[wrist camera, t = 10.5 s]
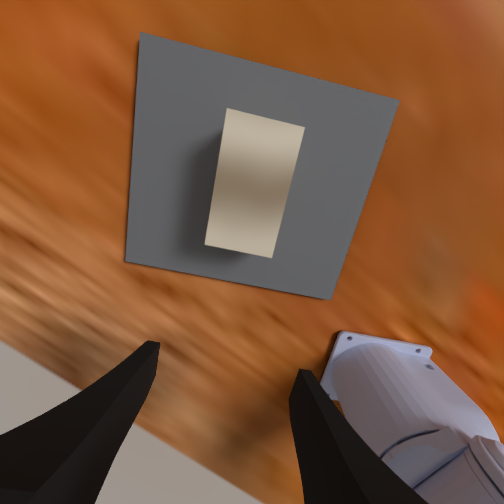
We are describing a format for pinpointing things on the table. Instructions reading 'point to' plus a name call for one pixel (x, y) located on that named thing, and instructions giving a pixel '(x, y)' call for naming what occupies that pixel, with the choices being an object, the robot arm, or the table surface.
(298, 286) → the charcoal rubber mat
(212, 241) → the birch card box
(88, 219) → the table surface
